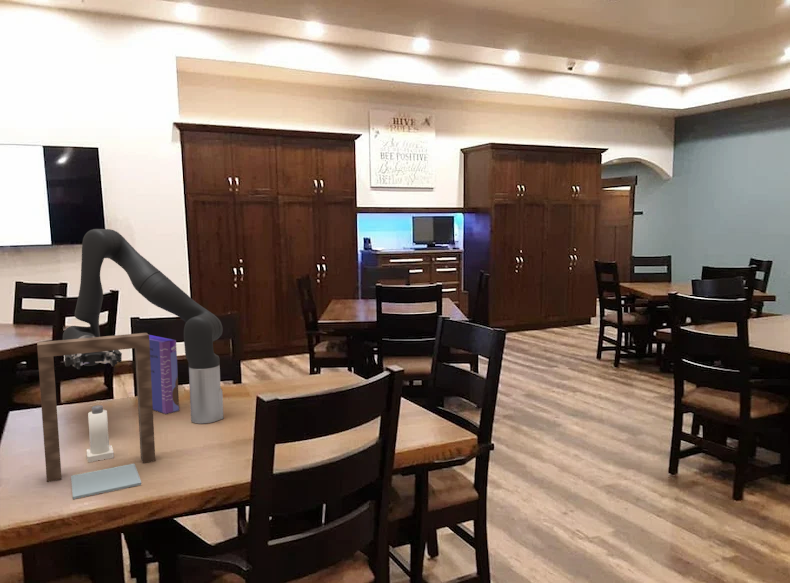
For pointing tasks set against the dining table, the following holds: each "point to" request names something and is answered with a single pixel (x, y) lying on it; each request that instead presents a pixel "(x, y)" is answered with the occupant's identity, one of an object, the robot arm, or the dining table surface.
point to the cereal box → (164, 374)
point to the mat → (104, 480)
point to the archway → (88, 346)
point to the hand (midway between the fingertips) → (96, 364)
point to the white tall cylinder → (98, 435)
